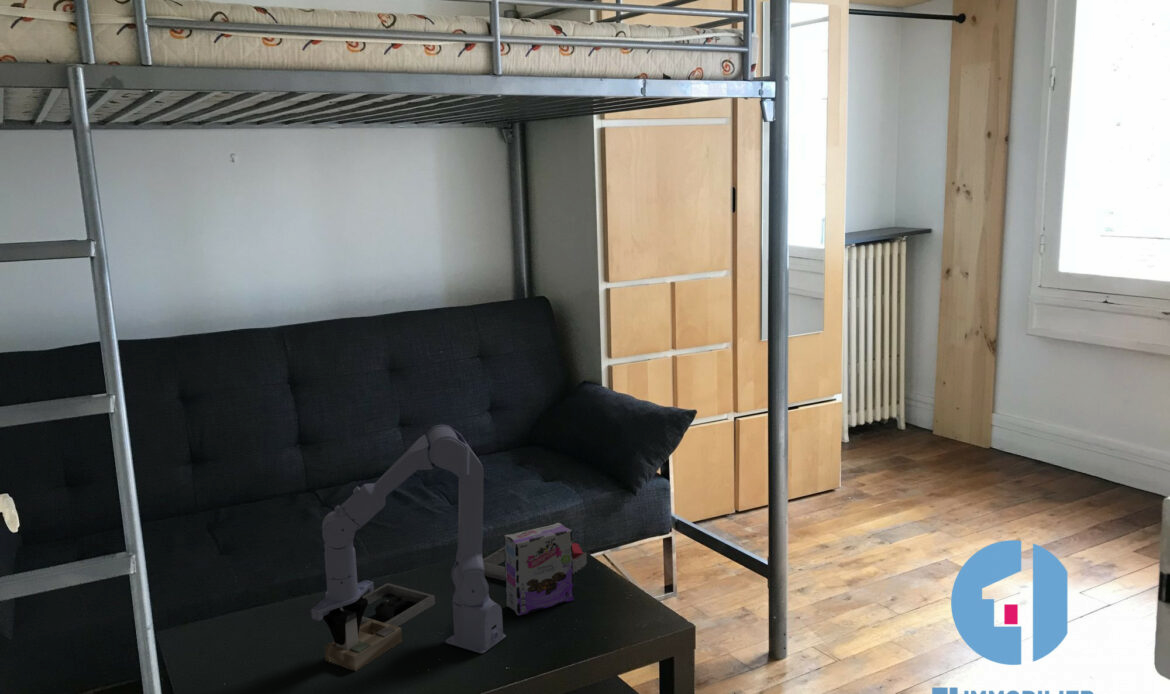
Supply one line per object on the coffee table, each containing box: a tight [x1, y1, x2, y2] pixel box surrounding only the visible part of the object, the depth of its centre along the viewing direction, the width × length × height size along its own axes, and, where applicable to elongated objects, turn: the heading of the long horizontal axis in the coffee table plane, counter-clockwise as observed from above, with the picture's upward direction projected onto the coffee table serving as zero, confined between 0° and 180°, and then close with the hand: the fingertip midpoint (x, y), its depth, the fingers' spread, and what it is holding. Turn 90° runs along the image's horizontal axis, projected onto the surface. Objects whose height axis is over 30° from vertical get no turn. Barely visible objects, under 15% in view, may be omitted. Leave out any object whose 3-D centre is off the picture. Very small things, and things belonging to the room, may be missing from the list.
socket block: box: [323, 618, 403, 672], centre depth 188 cm, size 8×13×3 cm, turn 149°
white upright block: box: [336, 610, 358, 651], centre depth 185 cm, size 3×3×8 cm
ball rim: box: [483, 545, 588, 582], centre depth 224 cm, size 20×17×3 cm
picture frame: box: [340, 582, 436, 627], centre depth 205 cm, size 14×16×2 cm
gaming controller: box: [374, 595, 419, 623], centre depth 204 cm, size 10×5×6 cm
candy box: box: [503, 522, 575, 616], centre depth 205 cm, size 14×6×16 cm, turn 120°
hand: (346, 639), depth 185 cm, fingers closed on white upright block, 3 cm apart
